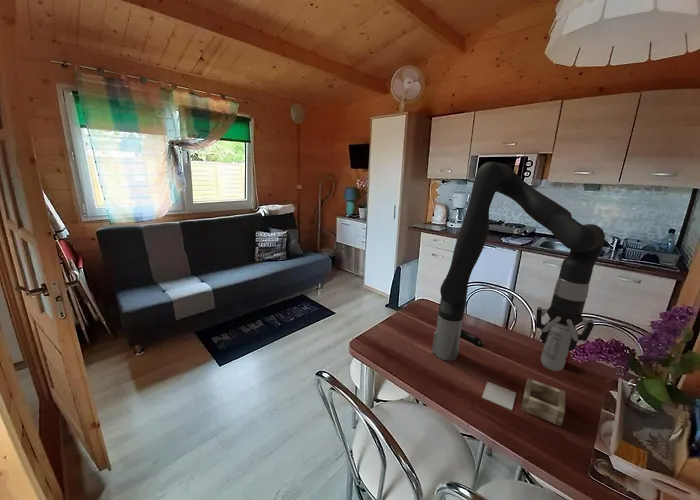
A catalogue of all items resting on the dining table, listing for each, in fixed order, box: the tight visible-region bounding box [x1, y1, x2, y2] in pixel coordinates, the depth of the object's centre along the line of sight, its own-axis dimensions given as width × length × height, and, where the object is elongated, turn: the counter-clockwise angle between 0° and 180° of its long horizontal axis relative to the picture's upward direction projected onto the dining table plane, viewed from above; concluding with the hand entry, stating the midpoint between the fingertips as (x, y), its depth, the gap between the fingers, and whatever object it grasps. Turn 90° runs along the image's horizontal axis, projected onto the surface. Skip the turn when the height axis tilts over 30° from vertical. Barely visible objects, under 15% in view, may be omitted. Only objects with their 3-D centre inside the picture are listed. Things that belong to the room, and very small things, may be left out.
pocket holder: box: [520, 377, 566, 427], centre depth 96 cm, size 11×11×5 cm
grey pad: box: [481, 381, 517, 411], centre depth 101 cm, size 9×9×1 cm
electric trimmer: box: [460, 329, 483, 347], centre depth 135 cm, size 4×16×3 cm, turn 34°
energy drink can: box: [540, 322, 572, 372], centre depth 90 cm, size 6×6×15 cm
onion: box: [565, 351, 571, 364], centre depth 117 cm, size 6×6×8 cm
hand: (556, 345), depth 90 cm, fingers closed on energy drink can, 6 cm apart
